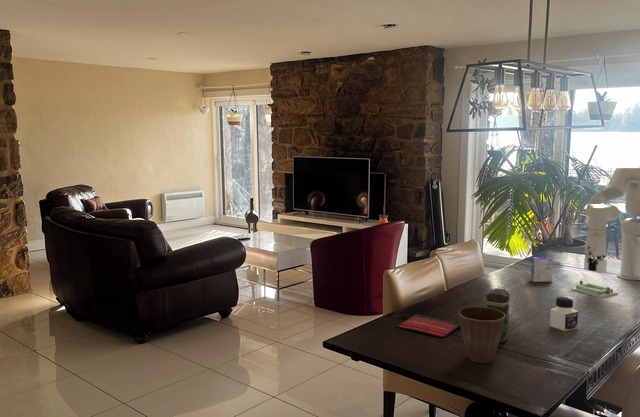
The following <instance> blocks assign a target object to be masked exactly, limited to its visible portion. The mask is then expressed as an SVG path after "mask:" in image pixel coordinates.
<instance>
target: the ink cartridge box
mask: <svg viewBox="0 0 640 417" xmlns="http://www.w3.org/2000/svg"><path fill="white" fill-rule="evenodd" d="M545 254H546V253H545V252H537V257H536V256H535V257H530V280H531V282H535V283H541V282H542V283H545V282H547V283H548V282H550V283H552V282H553V273H554V272H553V270H554V268H553V267H554V258H552V257H550V256H546V255H545Z"/></svg>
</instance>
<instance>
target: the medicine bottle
mask: <svg viewBox="0 0 640 417" xmlns="http://www.w3.org/2000/svg"><path fill="white" fill-rule="evenodd" d="M549 317H550V319H549V321H550V322H549V327H551V328H554V329H557V330H559V331H562V332H568V331H572V330H577V329H578V320H579V319H578V318H579V311H578V310H577V309H574V299H573V298H571V297H569V296H564V295H563V296H557V298H555V307H554V308H551V309H550V316H549Z"/></svg>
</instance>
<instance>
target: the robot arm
mask: <svg viewBox="0 0 640 417" xmlns="http://www.w3.org/2000/svg"><path fill="white" fill-rule="evenodd" d="M624 195H625V209H624V210H625V213H626V214H627V215H629V216H635V217H640V164H639V165H638V164H625V165H620V166H618V167H616V168H615V169H614V172H613V173H612V176H611V177H610V179H609V182H608V183H607V186H606V187H604V188H602V189H601V190H599V191H597V192H596V193H595V194H593V195H592V197H590V199H589V201H588V203H587V205H586V208H585V215H586V217H587V218H588V230H587V231H588V232H587V236H586V238H585V239H586V240H585V245H584V258H585V257H586V258H587V260H588V262H589V267H588V270H591V271H590V272H592V271H595V263H594V262H595V258H599V259H604V260H605V257H606V256H607V244H608V243H607V221H609V222H612V221H616V219H618V217H619V215H620V209H619V208H618V206H615V205H611V204H603V203H605V202H608V201H613V200H615V199H619V198H622V197H623V196H624ZM635 217H628V218H625V219H623V220H622V221H621V222H620V223H621V224H620V229H621V258H620V272H618V273H617V275H616V276H617V277H618V278H619V279H623V280H630V281H640V218H635ZM591 257H593V259H592V258H591ZM588 270H587V271H588Z"/></svg>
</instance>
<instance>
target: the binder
mask: <svg viewBox="0 0 640 417" xmlns="http://www.w3.org/2000/svg"><path fill="white" fill-rule="evenodd" d="M397 328H398V329H400V328H402V329H401V330H405V329H406V330H407V331H410V330H411V332H416V333H420V334H424V335H430V336H432V337H435V338H438V339H444V338H447V337H450V336H451V335H452V334H455V333H456V332H458V329H459V328H460V329H461V326H460V322H454V321H450V320H447V319H439V318H435V317H432V316H431V317H430V316H425V315H423V314H422V315H421V314H418V313H416V314H414V315H412V316H411V317H408V319H406V320H404V321H402V322H401V323H399V324H398V325H397Z"/></svg>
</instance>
